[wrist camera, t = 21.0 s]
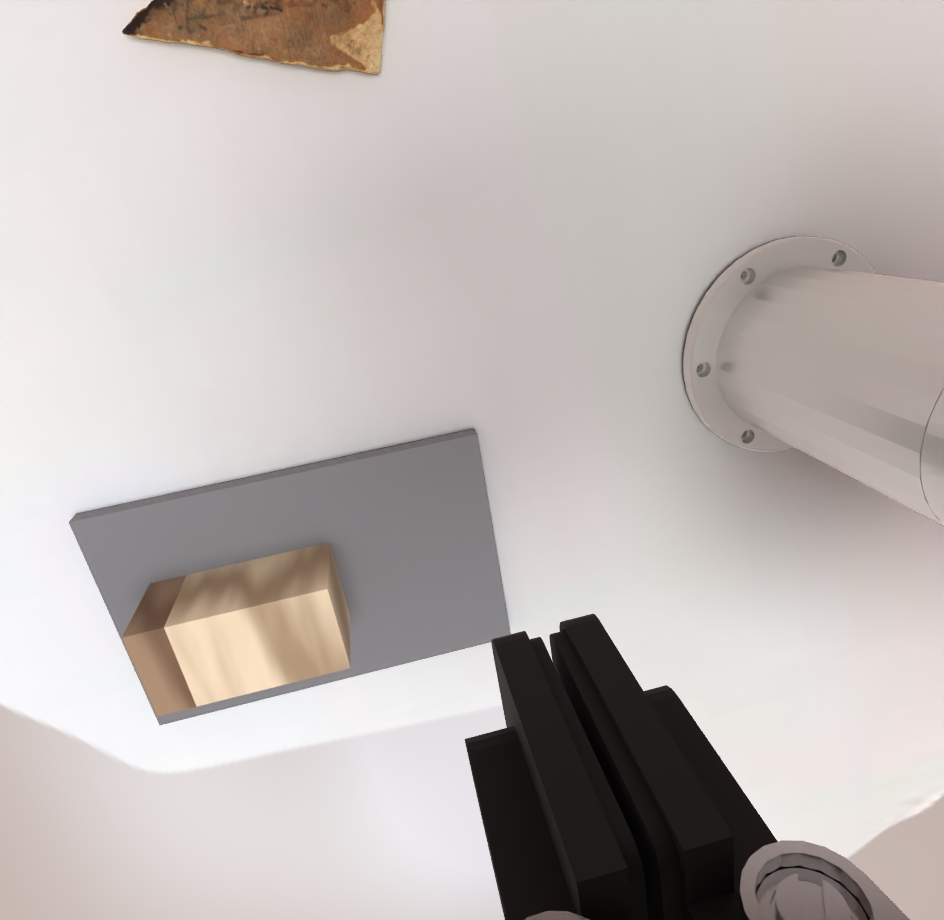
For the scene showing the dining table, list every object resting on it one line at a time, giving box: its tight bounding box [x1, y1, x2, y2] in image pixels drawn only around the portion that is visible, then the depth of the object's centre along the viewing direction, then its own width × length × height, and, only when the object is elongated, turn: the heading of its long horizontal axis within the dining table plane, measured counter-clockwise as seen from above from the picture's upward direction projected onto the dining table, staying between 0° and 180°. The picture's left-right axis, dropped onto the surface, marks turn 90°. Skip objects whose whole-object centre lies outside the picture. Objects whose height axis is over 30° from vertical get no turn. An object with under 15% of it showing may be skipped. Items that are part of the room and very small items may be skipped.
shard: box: [122, 0, 385, 74], centre depth 28 cm, size 11×8×2 cm
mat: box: [69, 429, 511, 725], centre depth 38 cm, size 22×14×1 cm, turn 99°
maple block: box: [122, 542, 350, 717], centre depth 35 cm, size 5×5×10 cm
